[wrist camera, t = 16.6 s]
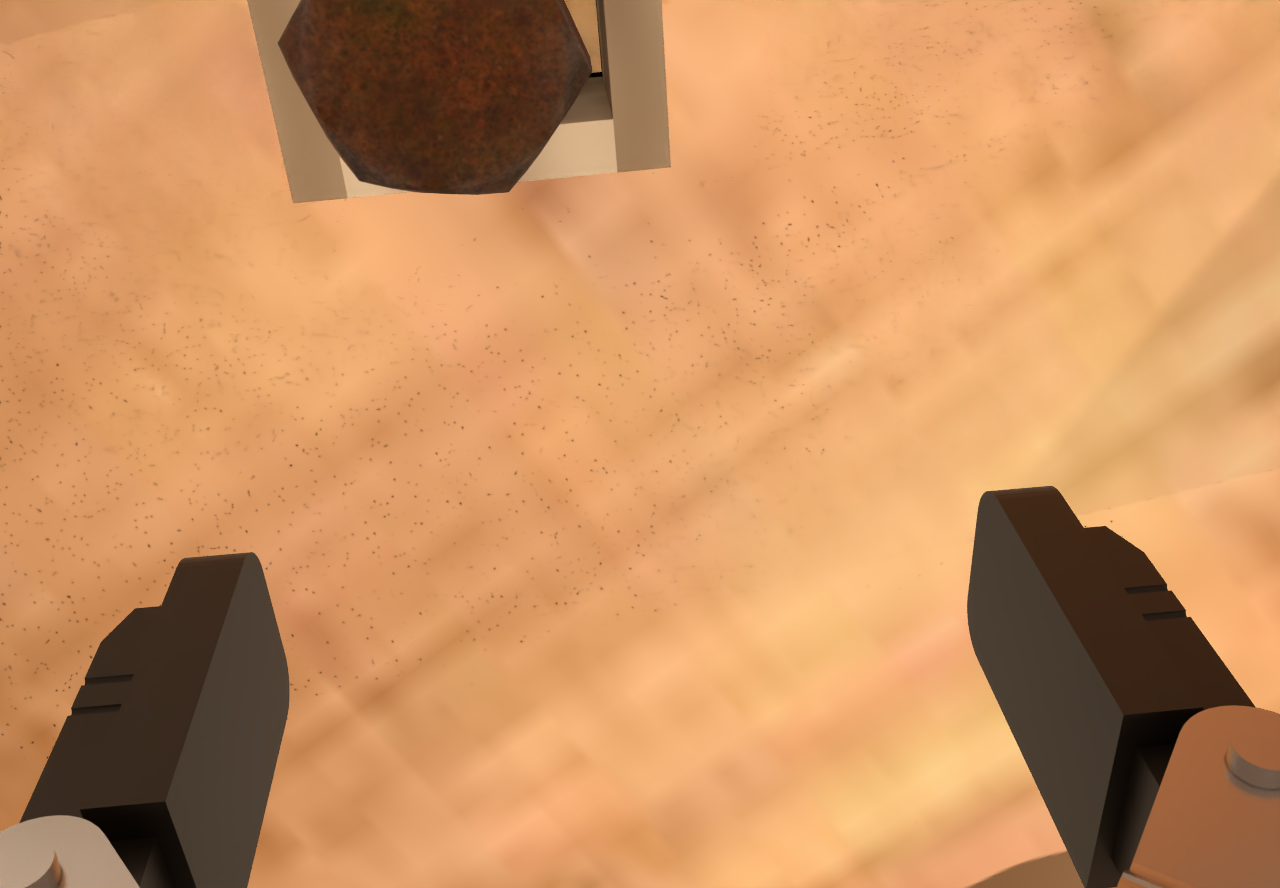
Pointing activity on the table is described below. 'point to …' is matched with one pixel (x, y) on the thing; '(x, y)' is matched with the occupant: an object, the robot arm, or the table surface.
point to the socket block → (581, 145)
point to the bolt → (437, 86)
